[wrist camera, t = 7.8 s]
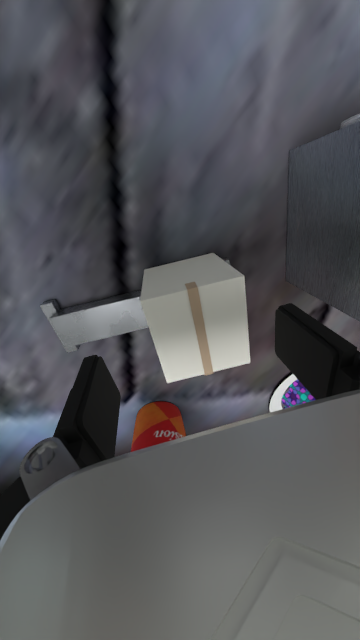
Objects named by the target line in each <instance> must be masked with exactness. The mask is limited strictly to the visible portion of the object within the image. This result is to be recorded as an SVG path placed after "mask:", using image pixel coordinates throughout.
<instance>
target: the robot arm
mask: <svg viewBox="0 0 360 640" xmlns="http://www.w3.org/2000/svg"><path fill="white" fill-rule="evenodd" d="M275 352H276V355H277V356H278V357H279V358H280V360H281V361H282V362H283V363H284V364H285V365H286V366H287V368H288V369H289V370H290V371H291V372H292V373H293V374H294V375H295V377H296V378H297V379H298V380H299V381H300V382H301V383H302V385H303V386H304V387H305V388H306V389H307V390H308V391H309V392H310V394H311V395H312V396H313V397H314V398H315V399H316V400H314V401H311V402H307V403H303V404H300V405H296V406H292V407H289V408H285V409H281V410H278V411H274V412H271V413H267V414H263V415H260V416H256V417H253V418H249V419H245V420H242V421H238V422H235V423H231V424H227V425H224V426H220V427H217V428H213V429H210V430H206V431H203V432H199V433H196V434H192V435H189V436H185V437H182V438H178V439H175V440H171V441H168V442H164V443H161V444H157V445H154V446H150V447H147V448H143V449H140V450H136V451H133V452H130V453H127V454H123V455H120V456H117V457H114V454H115V445H116V435H117V426H118V417H119V408H120V392H119V390H118V388H117V386H116V384H115V382H114V380H113V378H112V376H111V374H110V372H109V370H108V369H107V367H106V365H105V363H104V361H103V359H102V357H98V356H97V355H93V356H89V357H85V358H84V359H83V362H82V364H81V367H80V370H79V372H78V375H77V378H76V380H75V383H74V386H73V388H72V389H71V391H70V393H69V396H68V399H67V401H66V404H65V407H64V409H63V412H62V414H61V417H60V420H59V422H58V425H57V428H56V430H55V433H54V435H53V437H50V438H47V439H44V440H42V441H40V442H39V443H38V444H36V445H35V446H34V447H33V448H32V449H31V450H29V452H28V453H27V454H26V456H25V457H24V459H23V461H22V462H21V465H20V469H19V470H20V477H19V478H18V479H17V480H16V481H15V482H14V483H13V484H12V485H10V486H9V487H8V488H7V489H6V490H5V491H4V492H3V493H2V494H1V495H0V640H360V352H359V351H357V347H356V346H354V345H353V344H351V343H350V342H348V341H347V340H345V339H344V338H342V337H341V336H339V335H338V334H336V333H335V332H333V331H332V330H330V329H329V328H327V327H326V326H324V325H323V324H321V323H320V322H319V321H317V320H316V319H314V318H313V317H311V316H310V315H308V314H307V313H305V312H304V311H302V310H301V309H299V308H298V307H296V306H295V305H293V304H291V303H289V304H286V305H282V306H279V308H278V309H277V310H276V317H275Z"/></svg>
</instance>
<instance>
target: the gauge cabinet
mask: <svg viewBox="0 0 360 640" xmlns="http://www.w3.org/2000/svg"><path fill="white" fill-rule="evenodd" d="M286 281H287V282H289V283H291V284H292V285H294V286H296V287H298V288H300V289H302V290H303V291H305V292H307V293H309V294H311V295H312V296H314V297H316V298H318V299H320V300H322V301H323V302H325V303H327V304H329V305H331V306H332V307H334V308H336V309H338V310H340V311H342V312H343V313H345V314H347V315H349V316H351V317H352V318H354V319H356V320H358V321H360V113H359V114H357V115H355V116H353V117H350V118H348V119H346V120H345V121H343V122H342V123H341V126H340V130H338V131H335V132H333V133H330V134H328V135H326V136H323V137H321V138H318V139H316V140H313V141H311V142H309V143H306V144H304V145H301V146H299V147H297V148H294V149H292V150H289V177H288V215H287V253H286Z"/></svg>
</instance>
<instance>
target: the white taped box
mask: <svg viewBox="0 0 360 640" xmlns="http://www.w3.org/2000/svg"><path fill="white" fill-rule="evenodd" d="M140 302H141V305H142V308H143V311H144V314H145V317H146V320H147V323H148V326H149V329H150V332H151V336H152V339H153V342H154V345H155V348H156V351H157V354H158V357H159V360H160V363H161V366H162V369H163V372H164V375H165V378H166V381H167V383H170V382H174V381H178V380H182V379H186V378H190V377H195V376H199V375H203V374H205V375H209V374H213V372H215V371H219V370H223V369H227V368H231V367H235V366H239V365H244V364H248V363H250V349H249V335H248V321H247V306H246V292H245V278H244V275H243V274H241V273H240V272H239V271H237V270H236V269H235V268H233V267H232V266H230V265H229V264H228V263H226V262H225V261H224V260H222V259H221V258H220V257H218V256H217V255H216V254H214V253H210V254H206V255H202V256H198V257H194V258H190V259H186V260H181V261H177V262H173V263H169V264H165V265H161V266H157V267H153V268H149V269H145V270H144V275H143V283H142V291H141V299H140Z"/></svg>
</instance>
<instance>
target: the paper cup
mask: <svg viewBox="0 0 360 640" xmlns="http://www.w3.org/2000/svg"><path fill="white" fill-rule="evenodd" d="M185 436H186V433H185V429H184V424H183V420H182V416H181V413H180V410H179V408H178V407H177V406H176V405H174V404H172V403H169V402H165V401H157V402H152V403H149V404H147V405H145V406H143V407H142V408H141V409H140V410H139V412H138V414H137V417H136V422H135V428H134V435H133V441H132V448H131V452H133V451H136V450H140V449H143V448H147V447H150V446H154V445H157V444H161V443H164V442H168V441H171V440H175V439H178V438H182V437H185Z"/></svg>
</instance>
